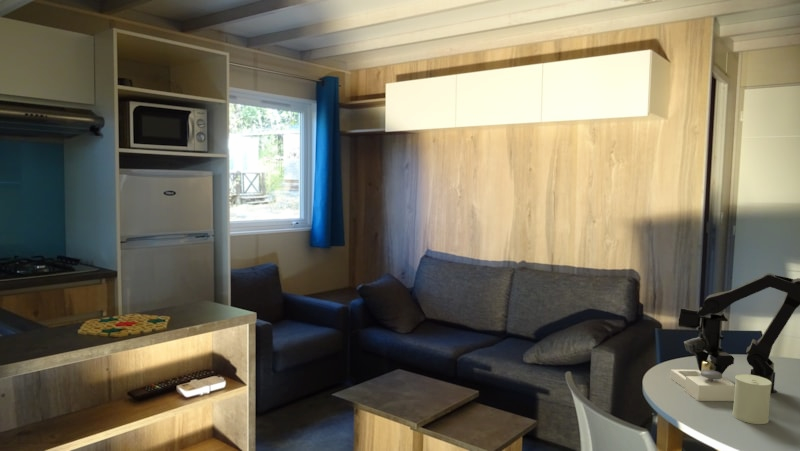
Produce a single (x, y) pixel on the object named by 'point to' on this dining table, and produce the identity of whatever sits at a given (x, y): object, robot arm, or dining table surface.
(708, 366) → the brass cylinder
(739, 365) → the dining table surface
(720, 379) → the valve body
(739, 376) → the can
